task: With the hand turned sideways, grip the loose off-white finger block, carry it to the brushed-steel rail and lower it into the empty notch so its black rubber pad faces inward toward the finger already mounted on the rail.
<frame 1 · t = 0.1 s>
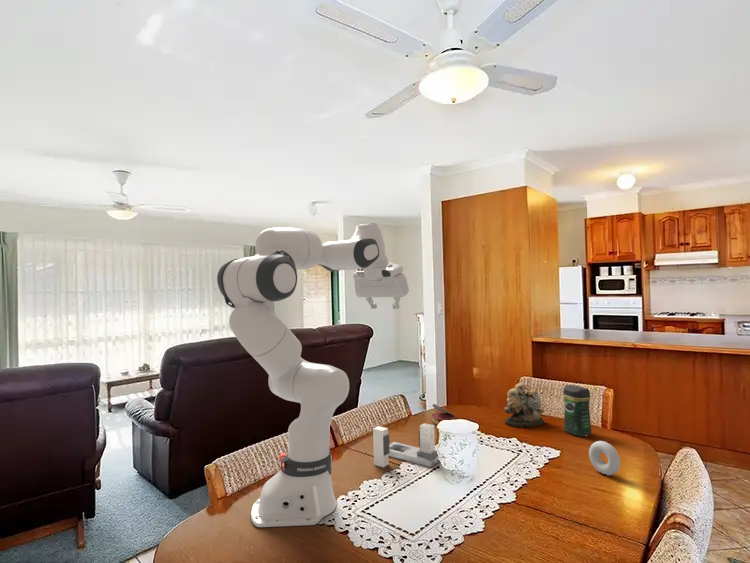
hand: (385, 308, 146), 52 cm above the table, tool tilted 20°, fingers open, 8 cm apart
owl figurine: (523, 423, 180), on the table
coffee jar: (577, 433, 167), on the table
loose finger: (381, 464, 141), on the table
donut: (604, 474, 131), on the table
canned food: (443, 423, 184), on the table
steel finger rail: (413, 457, 147), on the table
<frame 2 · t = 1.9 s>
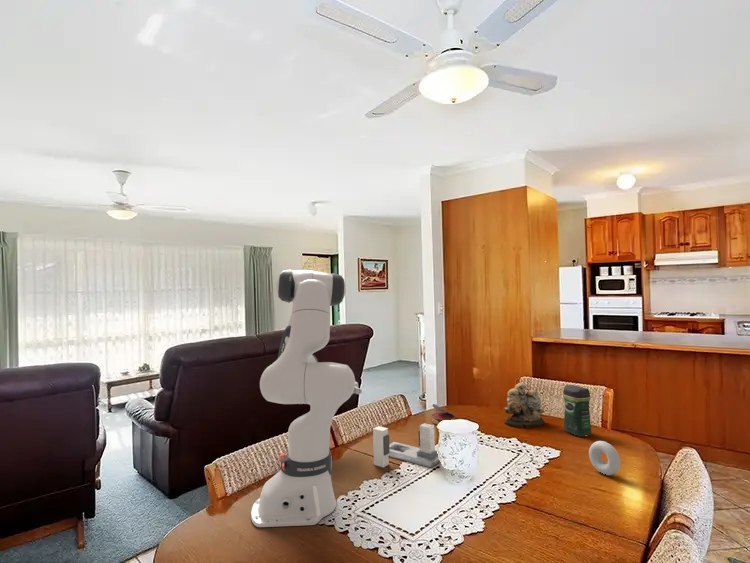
hand: (352, 394, 149), 22 cm above the table, tool horizontal, fingers open, 8 cm apart
nothing on the table moved.
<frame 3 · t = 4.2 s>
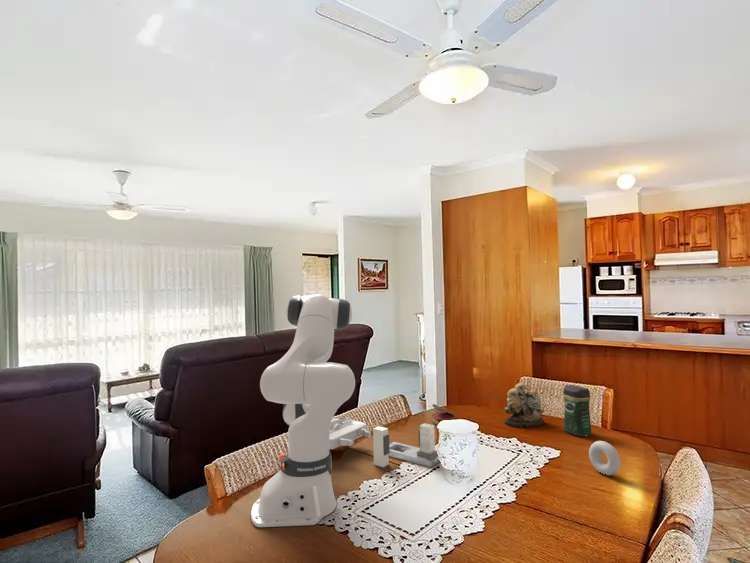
hand: (361, 439, 146), 7 cm above the table, tool horizontal, fingers open, 8 cm apart
nothing on the table moved.
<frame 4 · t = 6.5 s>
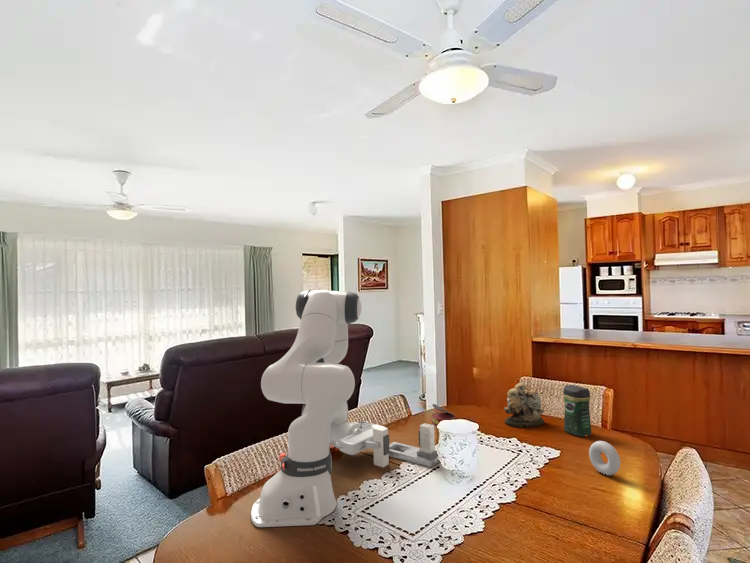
hand: (382, 443, 141), 7 cm above the table, tool horizontal, fingers closed on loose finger, 3 cm apart
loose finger: (381, 464, 141), on the table, touching gripper
everything else where it was.
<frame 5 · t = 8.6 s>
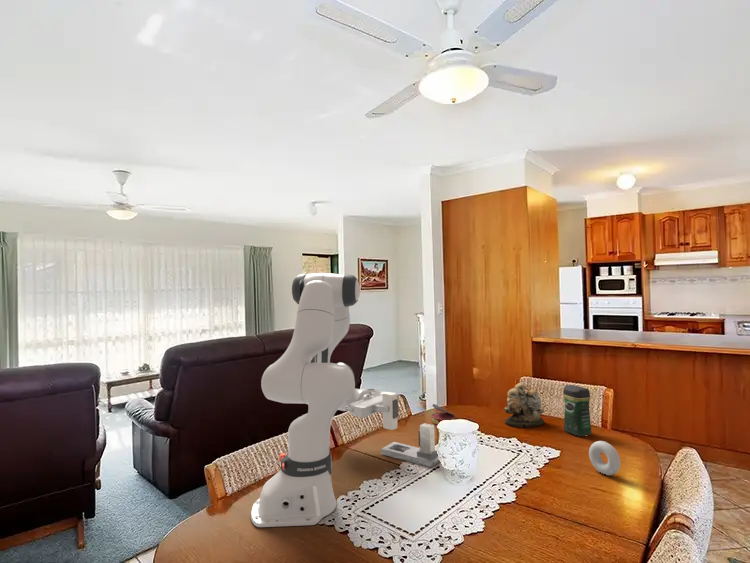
hand: (392, 407, 147), 17 cm above the table, tool horizontal, fingers closed on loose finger, 3 cm apart
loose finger: (390, 427, 147), point 10 cm above the table, touching gripper
everything else where it was.
when the fingers open (8 cm above the table, at t = 10.9 s): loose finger drops 1 cm, resting in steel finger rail.
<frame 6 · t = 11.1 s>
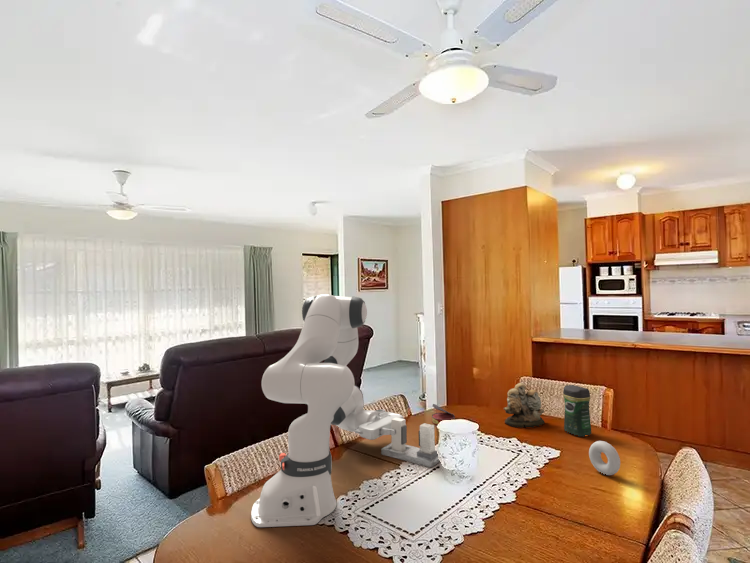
hand: (400, 429, 150), 9 cm above the table, tool horizontal, fingers open, 5 cm apart
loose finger: (398, 453, 150), resting in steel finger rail
everything else where it was.
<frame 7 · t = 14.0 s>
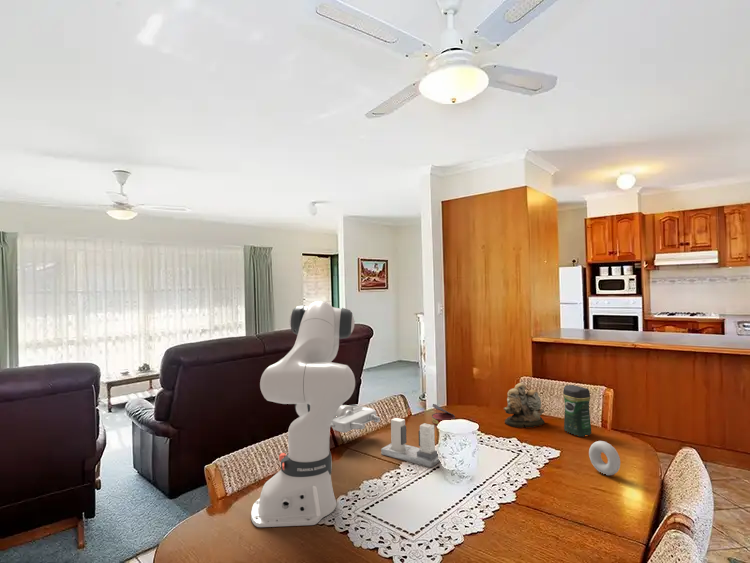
hand: (371, 423, 158), 9 cm above the table, tool horizontal, fingers open, 8 cm apart
nothing on the table moved.
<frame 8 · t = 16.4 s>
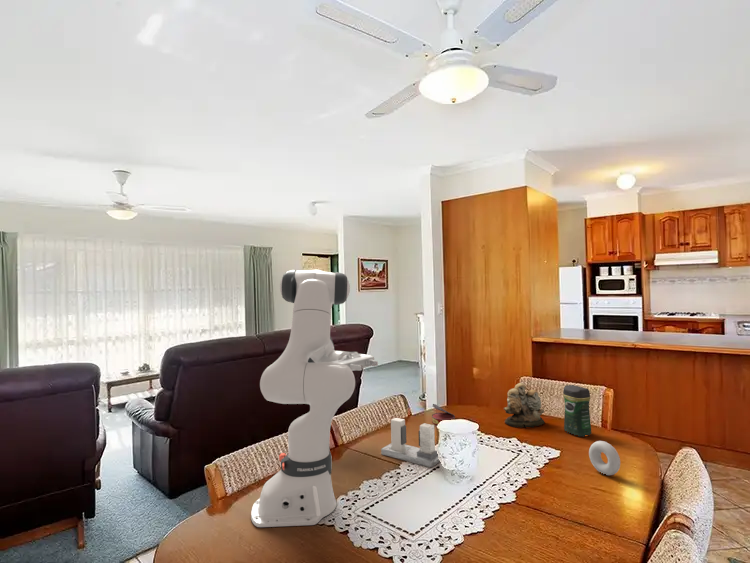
hand: (369, 365, 158), 30 cm above the table, tool horizontal, fingers open, 8 cm apart
nothing on the table moved.
at the end: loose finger 0.1 cm from the target spot on the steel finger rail, point 0.0 cm above the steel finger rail's base; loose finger tilted 0°; the gripper is holding nothing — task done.
